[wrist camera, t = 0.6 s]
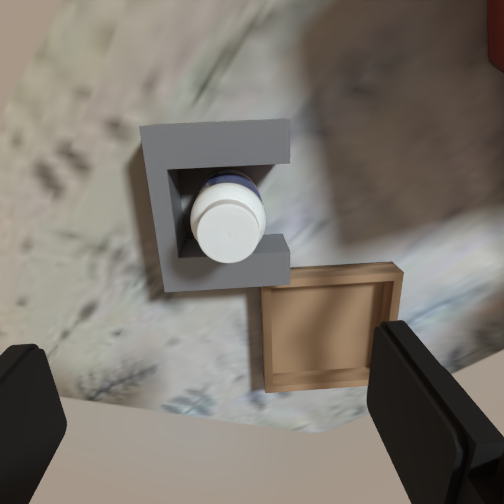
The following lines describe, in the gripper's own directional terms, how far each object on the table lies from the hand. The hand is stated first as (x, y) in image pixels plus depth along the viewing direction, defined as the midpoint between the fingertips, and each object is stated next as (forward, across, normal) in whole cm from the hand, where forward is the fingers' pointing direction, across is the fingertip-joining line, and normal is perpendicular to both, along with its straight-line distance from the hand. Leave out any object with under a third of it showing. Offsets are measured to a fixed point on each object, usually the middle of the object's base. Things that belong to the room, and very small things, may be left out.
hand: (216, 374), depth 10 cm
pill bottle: (+23, 0, 0) cm, 23 cm away
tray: (+22, -9, +14) cm, 28 cm away
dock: (+22, 0, 0) cm, 22 cm away
